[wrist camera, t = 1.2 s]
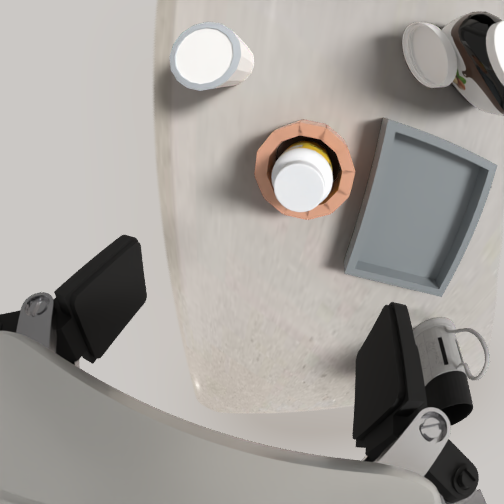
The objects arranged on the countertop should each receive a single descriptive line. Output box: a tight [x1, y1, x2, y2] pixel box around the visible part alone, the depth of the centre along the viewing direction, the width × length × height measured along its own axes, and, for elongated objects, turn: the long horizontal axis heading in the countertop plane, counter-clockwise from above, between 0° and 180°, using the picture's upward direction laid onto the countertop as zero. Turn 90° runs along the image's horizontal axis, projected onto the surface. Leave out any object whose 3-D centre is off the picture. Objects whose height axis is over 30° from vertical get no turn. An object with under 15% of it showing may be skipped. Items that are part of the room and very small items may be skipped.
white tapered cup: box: [170, 22, 254, 91], centre depth 22 cm, size 7×7×7 cm
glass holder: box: [413, 317, 490, 425], centre depth 29 cm, size 9×14×15 cm, turn 174°
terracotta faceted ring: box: [254, 119, 355, 220], centre depth 27 cm, size 9×9×4 cm
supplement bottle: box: [272, 140, 333, 212], centre depth 25 cm, size 5×5×10 cm
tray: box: [344, 118, 497, 297], centre depth 27 cm, size 18×14×3 cm
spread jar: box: [402, 12, 504, 116], centre depth 13 cm, size 12×11×12 cm
